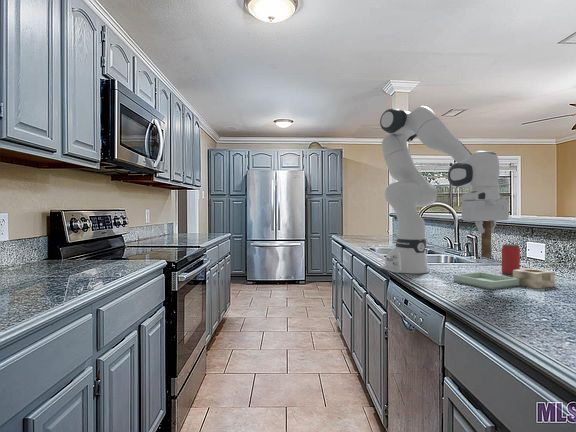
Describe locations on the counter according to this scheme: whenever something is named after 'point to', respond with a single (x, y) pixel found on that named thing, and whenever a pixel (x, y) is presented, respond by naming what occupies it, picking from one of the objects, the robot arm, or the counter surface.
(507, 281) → the tray
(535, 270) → the socket block
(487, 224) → the walnut peg
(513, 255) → the beer can
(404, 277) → the counter surface
